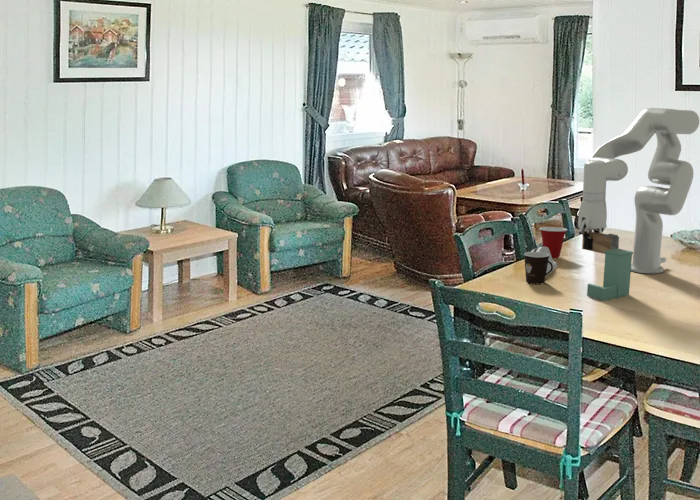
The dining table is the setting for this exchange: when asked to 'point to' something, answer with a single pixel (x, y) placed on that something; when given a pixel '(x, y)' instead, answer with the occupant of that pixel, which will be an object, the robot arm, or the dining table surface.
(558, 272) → the dining table surface
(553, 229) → the plastic cup
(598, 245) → the brown wooden block
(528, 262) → the coffee mug
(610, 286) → the headboard post
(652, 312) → the dining table surface
